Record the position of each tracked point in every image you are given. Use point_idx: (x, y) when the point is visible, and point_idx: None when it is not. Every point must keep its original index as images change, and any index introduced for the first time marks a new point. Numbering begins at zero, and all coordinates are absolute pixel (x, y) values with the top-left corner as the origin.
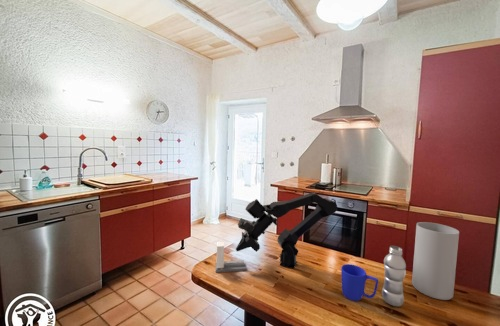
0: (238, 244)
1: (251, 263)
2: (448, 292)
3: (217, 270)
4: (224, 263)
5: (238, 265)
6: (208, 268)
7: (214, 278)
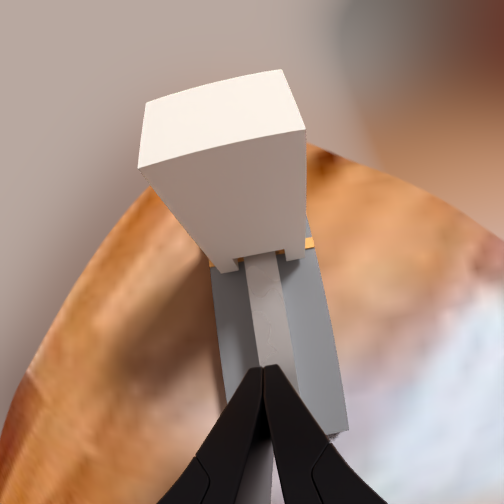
0: (291, 415)
1: None
2: None
3: None
4: (245, 268)
5: None
6: None
7: (149, 238)
